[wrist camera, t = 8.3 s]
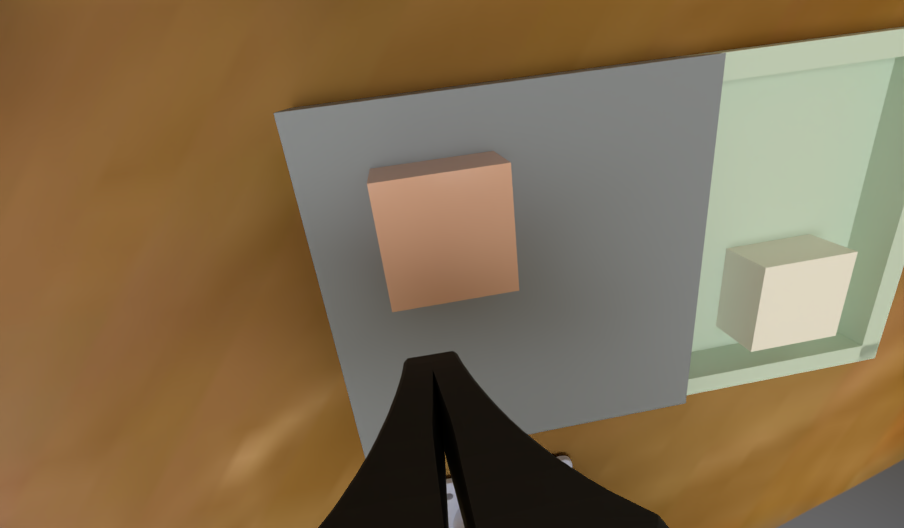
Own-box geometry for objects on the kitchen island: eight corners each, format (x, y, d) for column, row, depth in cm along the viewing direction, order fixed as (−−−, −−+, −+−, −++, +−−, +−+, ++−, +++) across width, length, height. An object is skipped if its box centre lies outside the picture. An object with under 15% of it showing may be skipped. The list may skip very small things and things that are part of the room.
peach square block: (502, 263, 18) (519, 290, 16) (391, 282, 18) (392, 312, 15) (493, 150, 16) (510, 162, 14) (369, 168, 16) (366, 184, 13)
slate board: (652, 367, 25) (685, 403, 22) (369, 421, 24) (367, 466, 21) (676, 56, 19) (726, 52, 16) (291, 107, 17) (273, 113, 15)
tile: (750, 351, 22) (715, 325, 24) (835, 335, 22) (793, 311, 24) (765, 268, 20) (726, 248, 22) (857, 251, 20) (809, 234, 22)
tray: (831, 333, 26) (874, 358, 24) (652, 367, 25) (679, 396, 23) (911, 25, 19) (981, 18, 17) (676, 56, 19) (716, 53, 16)
